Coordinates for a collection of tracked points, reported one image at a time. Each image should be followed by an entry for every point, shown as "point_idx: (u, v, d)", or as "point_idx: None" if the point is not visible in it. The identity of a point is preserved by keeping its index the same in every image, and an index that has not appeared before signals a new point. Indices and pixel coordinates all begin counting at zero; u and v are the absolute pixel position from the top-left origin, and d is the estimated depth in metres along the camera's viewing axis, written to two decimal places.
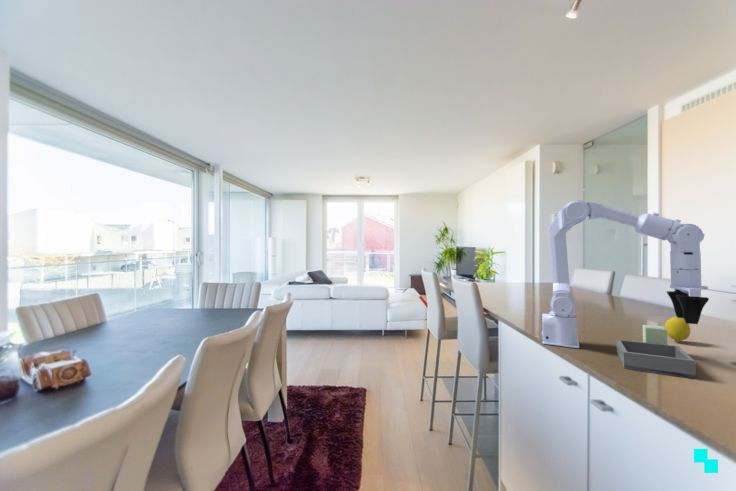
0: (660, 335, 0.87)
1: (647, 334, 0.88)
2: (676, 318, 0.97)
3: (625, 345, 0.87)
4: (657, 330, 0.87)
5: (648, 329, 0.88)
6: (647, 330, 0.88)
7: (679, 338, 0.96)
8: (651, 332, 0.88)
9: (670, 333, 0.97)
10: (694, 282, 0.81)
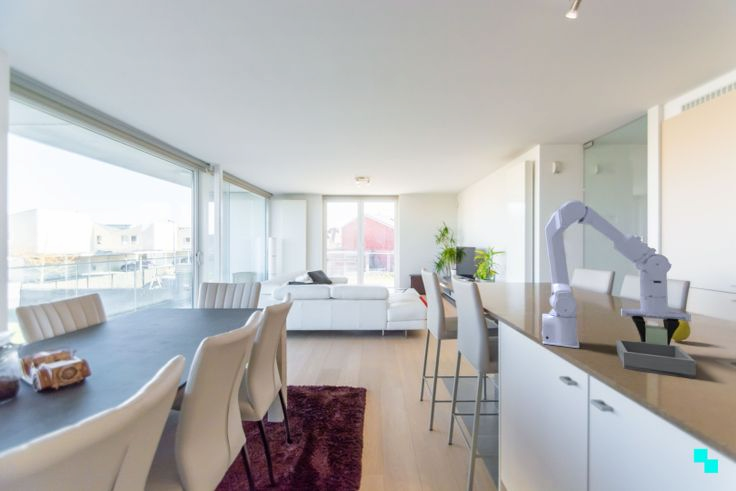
0: (660, 335, 0.87)
1: (647, 334, 0.88)
2: None
3: (625, 345, 0.87)
4: (657, 330, 0.87)
5: (648, 329, 0.88)
6: (647, 330, 0.88)
7: (679, 338, 0.96)
8: (651, 332, 0.88)
9: None
10: (642, 307, 0.90)
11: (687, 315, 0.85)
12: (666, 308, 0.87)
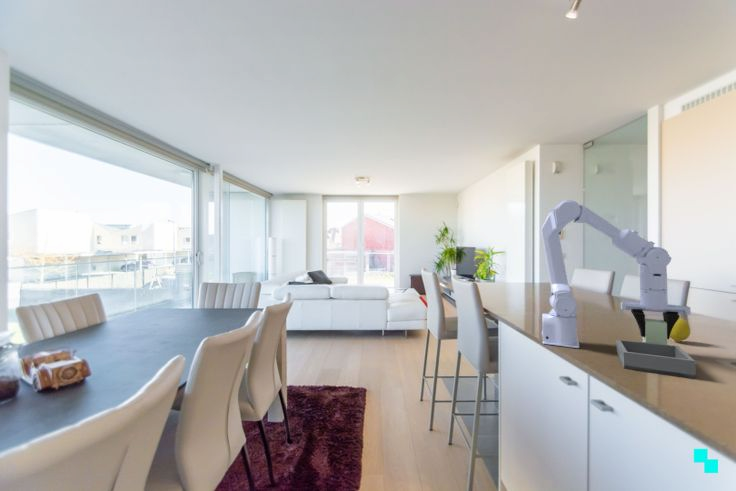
0: (660, 328, 0.87)
1: (647, 327, 0.88)
2: None
3: (625, 345, 0.87)
4: (657, 323, 0.87)
5: (648, 322, 0.88)
6: (647, 323, 0.88)
7: (679, 338, 0.96)
8: (651, 325, 0.88)
9: (670, 333, 0.97)
10: (642, 300, 0.90)
11: (687, 308, 0.85)
12: (666, 301, 0.87)
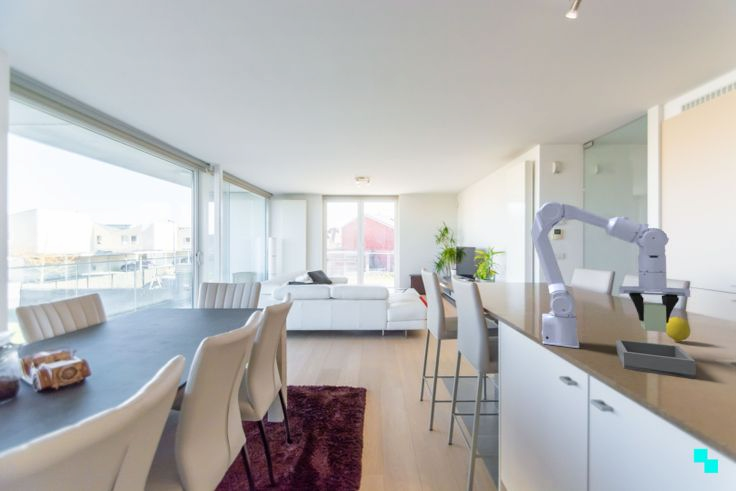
0: (659, 311, 0.84)
1: (645, 311, 0.86)
2: (676, 318, 0.97)
3: (625, 345, 0.87)
4: (656, 306, 0.85)
5: (646, 305, 0.86)
6: (645, 306, 0.86)
7: (679, 338, 0.96)
8: (649, 308, 0.85)
9: (670, 333, 0.97)
10: (640, 283, 0.87)
11: (686, 290, 0.82)
12: (665, 283, 0.84)
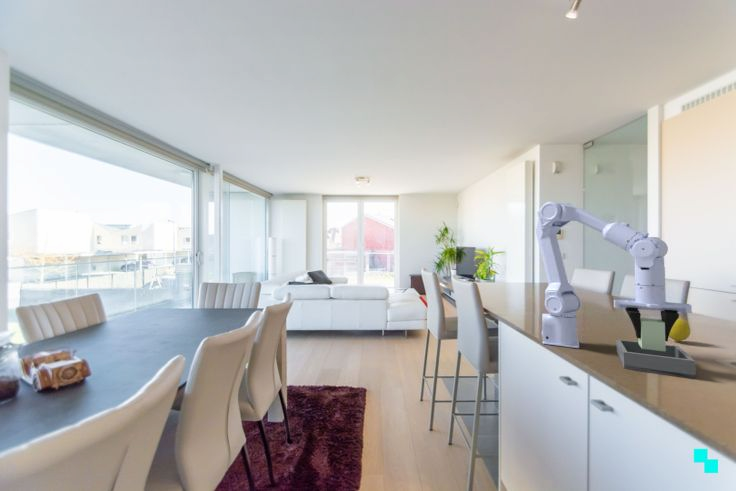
0: (657, 328, 0.77)
1: (642, 327, 0.79)
2: None
3: (625, 345, 0.87)
4: (654, 323, 0.78)
5: (644, 322, 0.79)
6: (642, 323, 0.79)
7: (679, 338, 0.96)
8: (647, 325, 0.78)
9: (670, 333, 0.97)
10: (637, 297, 0.80)
11: (687, 306, 0.75)
12: (664, 298, 0.77)
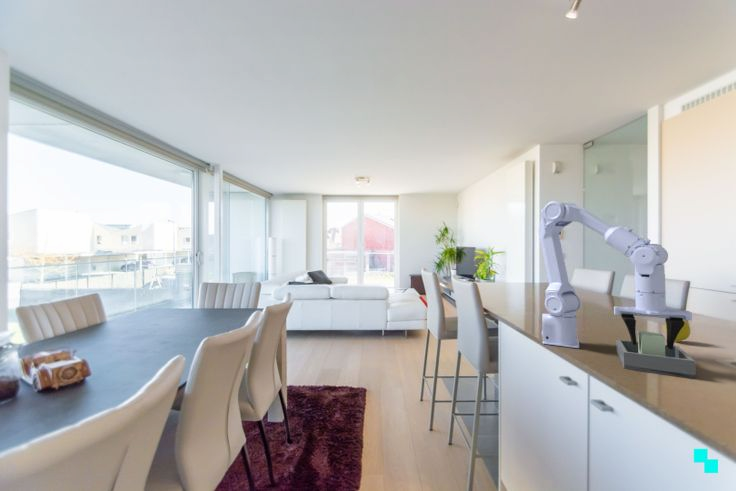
0: (657, 343, 0.77)
1: (642, 341, 0.79)
2: None
3: (625, 345, 0.87)
4: (654, 337, 0.78)
5: (644, 336, 0.79)
6: (642, 337, 0.79)
7: (679, 338, 0.96)
8: (647, 339, 0.78)
9: None
10: (637, 304, 0.80)
11: (687, 313, 0.75)
12: (664, 305, 0.77)
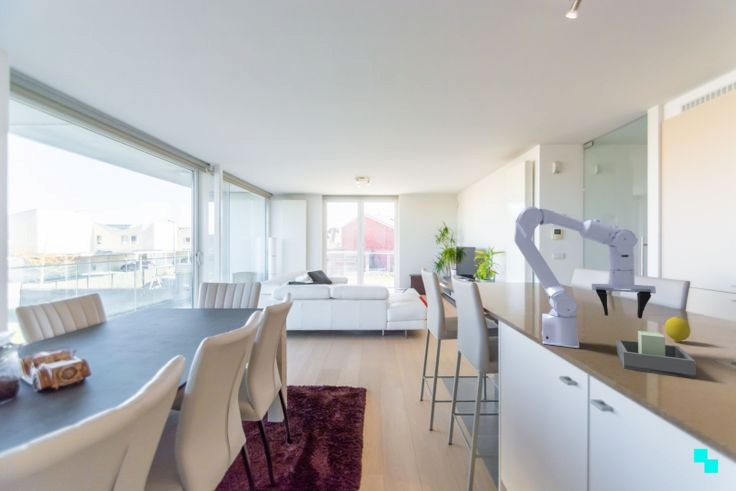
0: (657, 343, 0.77)
1: (642, 341, 0.79)
2: (676, 318, 0.97)
3: (625, 345, 0.87)
4: (654, 337, 0.78)
5: (644, 336, 0.79)
6: (642, 337, 0.79)
7: (679, 338, 0.96)
8: (647, 339, 0.78)
9: (670, 333, 0.97)
10: (610, 281, 0.93)
11: (652, 287, 0.88)
12: (632, 281, 0.90)
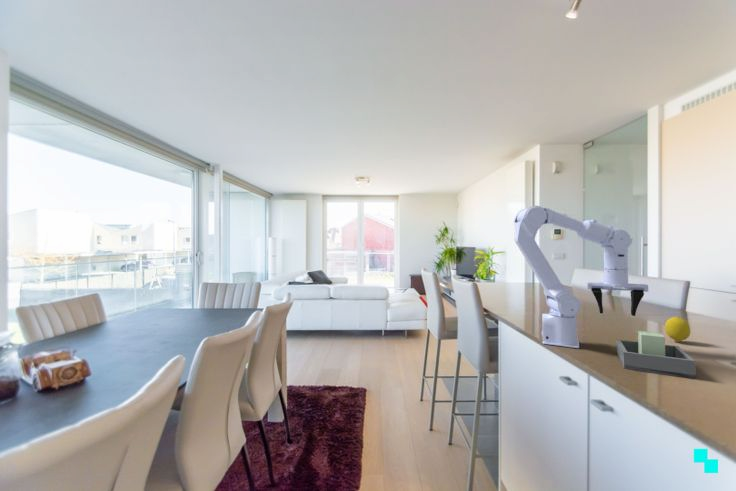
0: (657, 343, 0.77)
1: (642, 341, 0.79)
2: (676, 318, 0.97)
3: (625, 345, 0.87)
4: (654, 337, 0.78)
5: (644, 336, 0.79)
6: (642, 337, 0.79)
7: (679, 338, 0.96)
8: (647, 339, 0.78)
9: (670, 333, 0.97)
10: (605, 279, 0.96)
11: (645, 286, 0.92)
12: (626, 280, 0.93)
